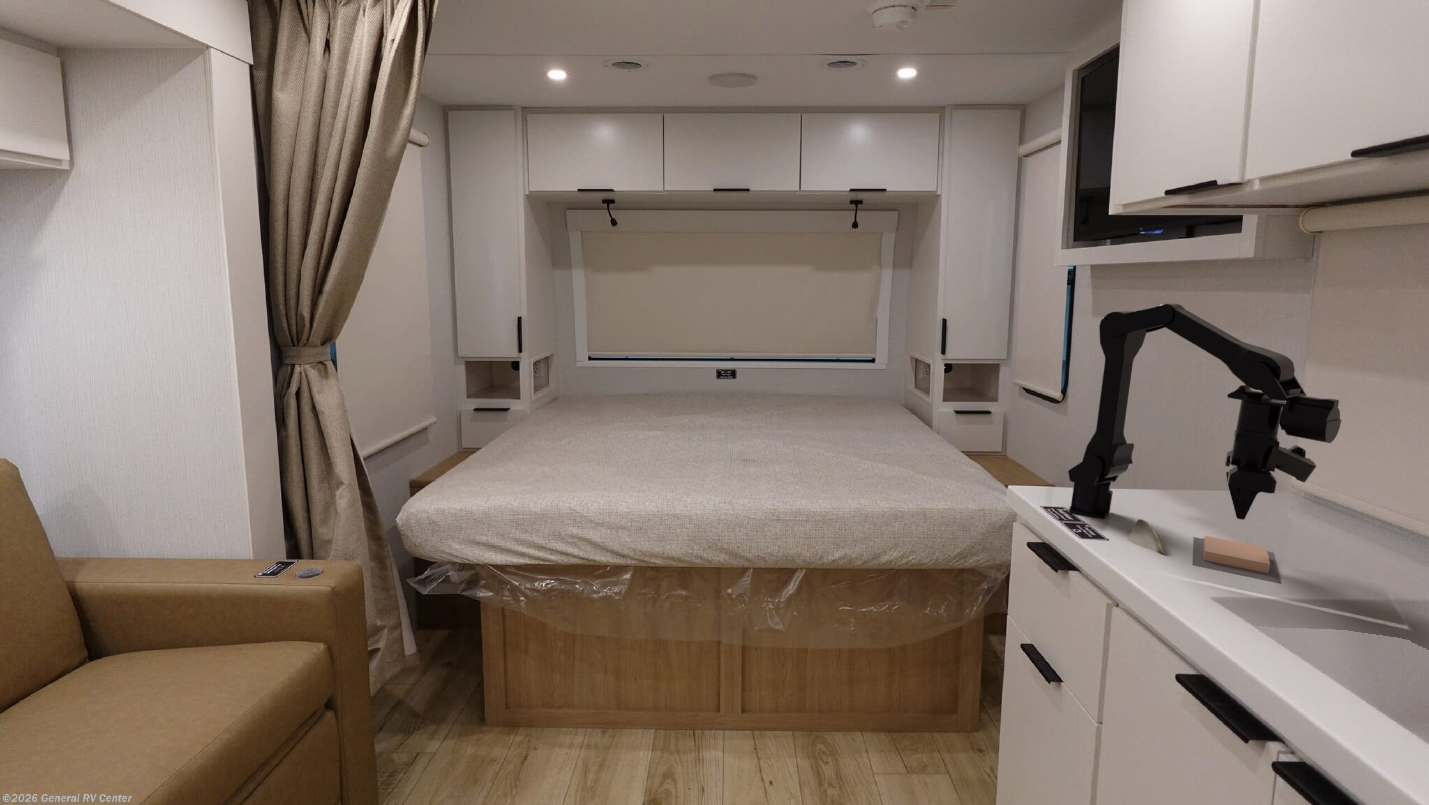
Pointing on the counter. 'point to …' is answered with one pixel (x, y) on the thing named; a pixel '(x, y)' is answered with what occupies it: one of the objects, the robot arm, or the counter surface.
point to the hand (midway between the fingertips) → (1240, 518)
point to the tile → (1236, 554)
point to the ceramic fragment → (1145, 537)
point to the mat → (1198, 561)
